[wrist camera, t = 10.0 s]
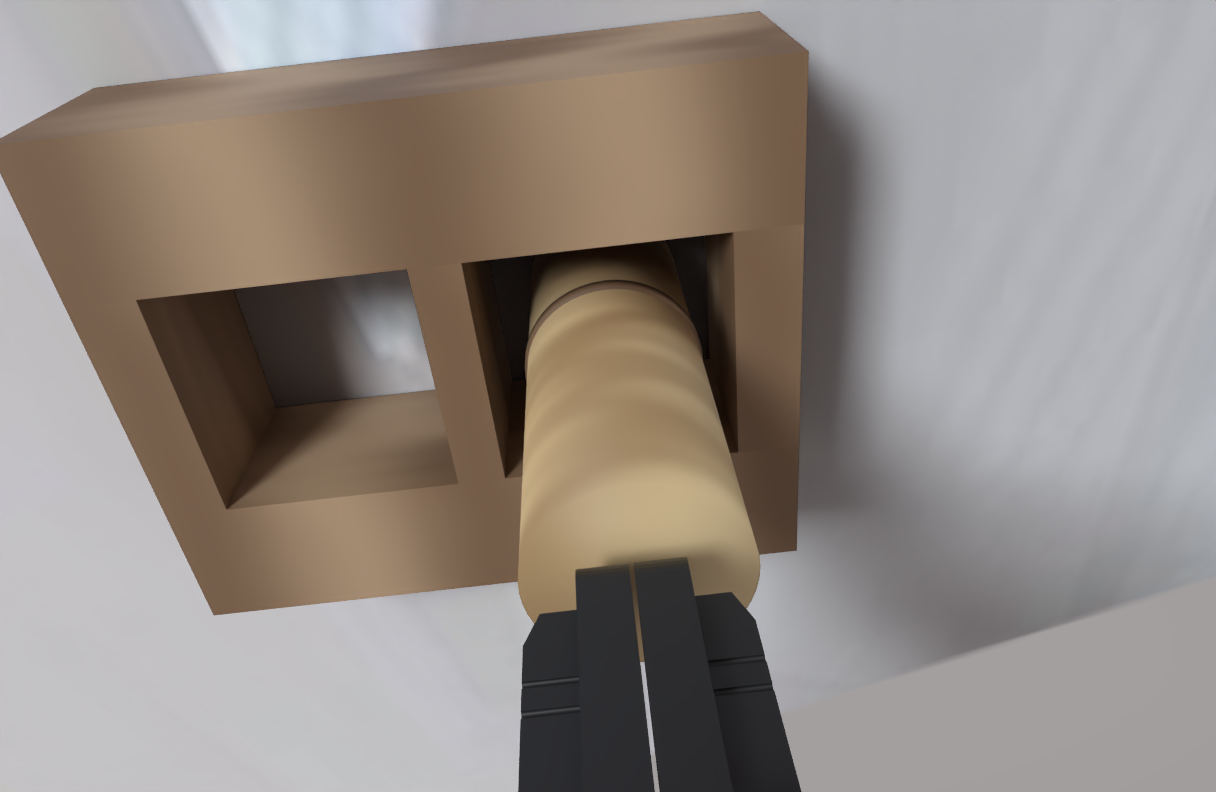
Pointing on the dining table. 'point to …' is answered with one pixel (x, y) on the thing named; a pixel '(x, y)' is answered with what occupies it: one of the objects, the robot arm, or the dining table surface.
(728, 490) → the peg
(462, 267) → the board
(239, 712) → the dining table surface
